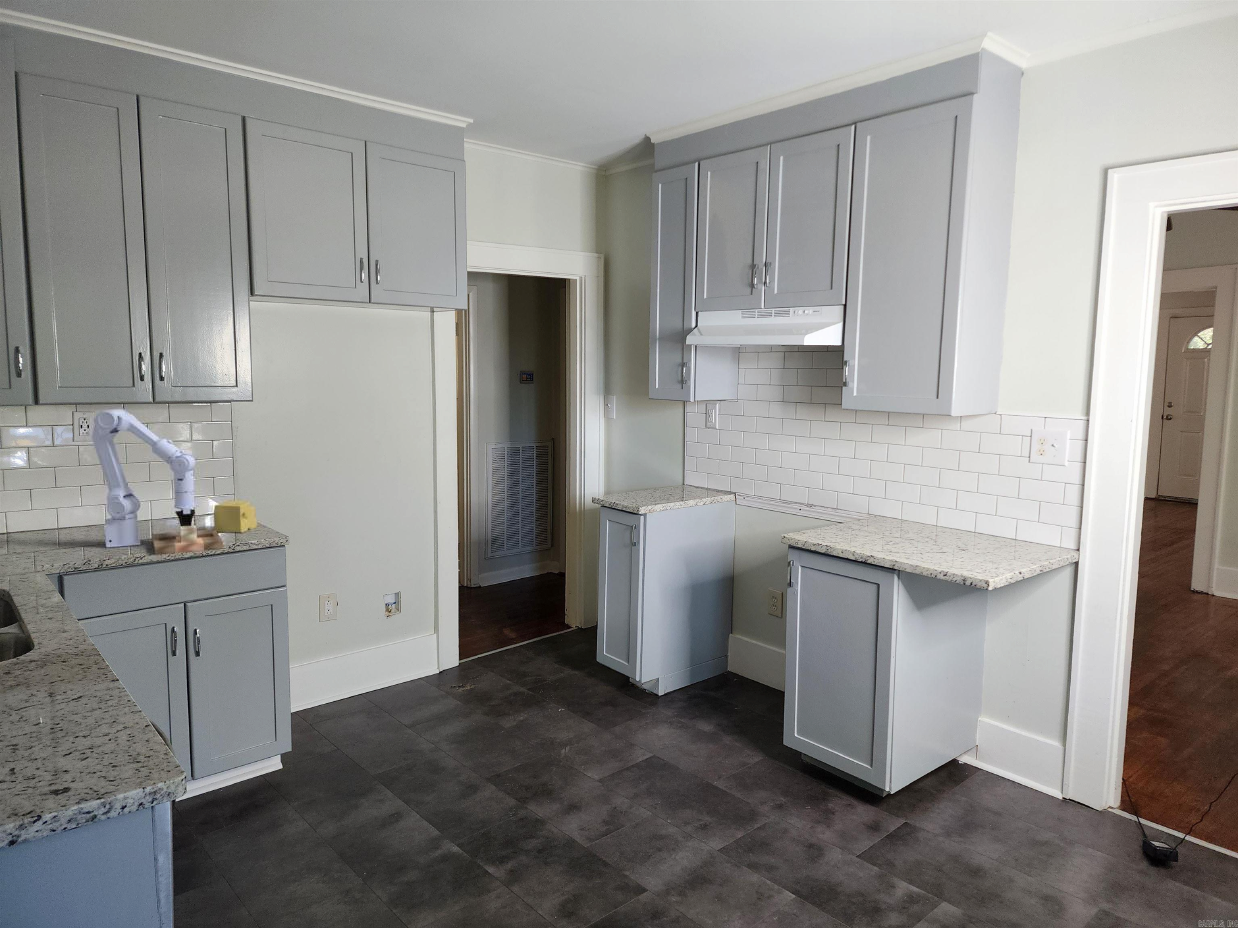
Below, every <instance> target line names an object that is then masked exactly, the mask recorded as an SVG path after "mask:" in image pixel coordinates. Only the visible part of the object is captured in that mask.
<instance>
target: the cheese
mask: <svg viewBox="0 0 1238 928" xmlns="http://www.w3.org/2000/svg"><path fill="white" fill-rule="evenodd" d="M256 513H257V512H256V508H255V507H254V506H252V504H251V503H250V502H248V501H243V500H242V501H241V500H233V499H232V500H227V501H225V502H223V503H218V504H215V505H214V508H213V521H214V529H215V530H216V531H217V533H231V532H242V533H244V531H245V532H247V531H249V530H250V531H251V530H254V528H255V529H257V526H258V520H257V518H256V516H255V515H256ZM248 529H249V530H248Z"/></svg>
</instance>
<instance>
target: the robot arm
mask: <svg viewBox="0 0 1238 928" xmlns="http://www.w3.org/2000/svg"><path fill="white" fill-rule="evenodd" d="M93 423H94V424H93V430H92V435H91V439H92V443H93V447H94V449H95V452H96V455H97V457H98V461H99V464H100V467H101V469H102V473H103V475H104V479H105V482H106V485H107V488H108V493H107V495H106V501H107V506H106V510H107V512H108V514H109V516H110V517H109V518H104V533H105V534H104V536H103V539H104V543H105V547H106V548H116V547H117V548H119V547H129V546H138V545H139V546H140V545H141V540H140V539H139V526H138V525H139V524H138V511H140V508H141V501H140V499H139V498H138V497H137V496H136V495H135V493H134V490H133V489H132V488H131V487H130V486H129V485H128V483H127V479H126V476H125V473H124V469H123V467H122V464H121V461H120V458H119V454H118V451H117V447H116V445H115V442H114V439H115V438H116V436H117V435H118V433H119V432H120V431H122V432H123V431H124V432H129V433H132V434H133V435H134V436H136V437H137V438H139V439H141V441H143V442H144V443H146V444H148V445H149V446H151V450H152V453H153V454H155V455H156V457H159V458H160V459H161V460H162V461H163V462H164V463H167V464H168V465H169V467H170V470H171V471H172V472H173V493H174V506H173V507H174V509H177V511H175V515H176V517H177V518H178V521H179V525H180V526H179V527H181V526H192V522H193V518H194V517H195V514H196V511H195V509H194V508H195V507H196V508H197V507H199V506H200V505H199V503H195V477H194V469H195V468H196V465H197V461H196V459H195V457H194V456H193V455H192V454H190V453H186V452H185V450H183V449H182V450H181V449H180V448H178V447H177V446H176V445H174V444H173V443H174V442H173V441H172V440H171V439H167V438H159V437H158V436H157V435H156V434H155V433H153V432H152V431H151V430H149V428H147V427H146V426H145V425H144V424H143V423H142V422H140V421H139V420H138V419H137V418H136V416H134V415H133V414H132V413H129V412H128V411H127V410H125V408H124V409H123V408H115V409H103V410H101V411H99V412H98V413H97V414H96V416H95V417H94V418H93Z"/></svg>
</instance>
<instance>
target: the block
mask: <svg viewBox="0 0 1238 928" xmlns="http://www.w3.org/2000/svg"><path fill="white" fill-rule="evenodd" d="M197 531H198V529H197V525H191V526H179V532H180V541H181V543H187V542H197Z"/></svg>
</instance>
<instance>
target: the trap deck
mask: <svg viewBox="0 0 1238 928" xmlns="http://www.w3.org/2000/svg"><path fill="white" fill-rule="evenodd" d="M223 542H224V540H222V538H221V536H220V534H219V532H217V531H216V530H215V528H214V529H201V530H200V529H199V530H197V542H187V543H181V541H180V531H174V532H162V533H152V534H151V543H152V545H153V551H154V555H155V556H156V555H165V554H169V555H170V554H177V553H187V552H200V551H202V552H203V551H211V550H223V549H224V543H223Z"/></svg>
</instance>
